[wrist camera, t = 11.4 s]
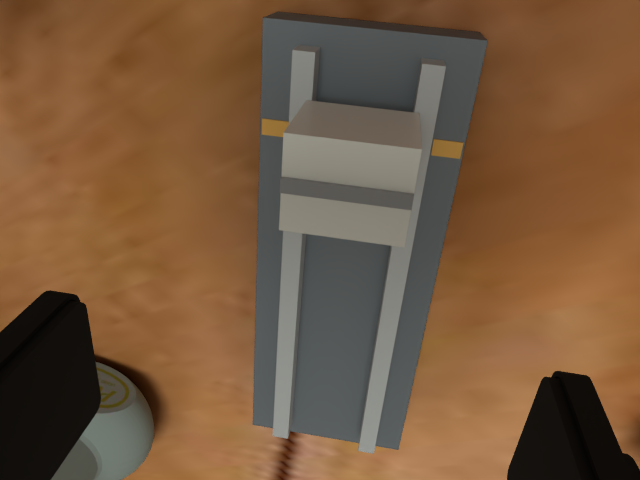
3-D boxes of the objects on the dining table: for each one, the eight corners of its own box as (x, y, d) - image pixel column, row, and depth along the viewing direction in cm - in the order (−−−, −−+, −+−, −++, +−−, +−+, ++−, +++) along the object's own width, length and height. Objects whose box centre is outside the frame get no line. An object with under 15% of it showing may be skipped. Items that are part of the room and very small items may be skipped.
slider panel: (479, 32, 26) (492, 45, 22) (398, 415, 38) (398, 468, 34) (277, 11, 27) (254, 21, 23) (263, 393, 39) (247, 442, 35)
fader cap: (418, 104, 24) (422, 151, 19) (405, 184, 26) (404, 249, 20) (311, 92, 25) (282, 134, 19) (306, 172, 27) (278, 232, 21)
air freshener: (32, 405, 44) (-62, 518, 35) (37, 331, 40) (-68, 438, 31) (158, 449, 44) (96, 571, 35) (175, 380, 40) (110, 498, 31)
